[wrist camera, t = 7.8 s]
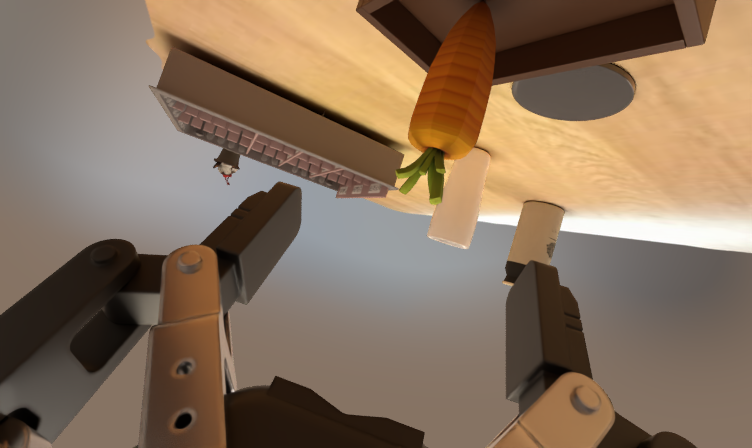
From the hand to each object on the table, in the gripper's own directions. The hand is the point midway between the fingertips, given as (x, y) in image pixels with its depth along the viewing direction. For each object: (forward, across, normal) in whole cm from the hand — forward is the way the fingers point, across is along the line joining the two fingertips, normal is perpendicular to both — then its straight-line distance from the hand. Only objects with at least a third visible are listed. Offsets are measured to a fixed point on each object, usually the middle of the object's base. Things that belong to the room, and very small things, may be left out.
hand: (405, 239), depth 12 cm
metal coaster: (+27, -10, +1) cm, 29 cm away
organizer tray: (+51, +30, +24) cm, 64 cm away
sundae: (+66, +53, +40) cm, 93 cm away
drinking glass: (+43, -5, +17) cm, 47 cm away
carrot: (+21, 0, -5) cm, 22 cm away
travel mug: (+58, -24, +32) cm, 70 cm away
